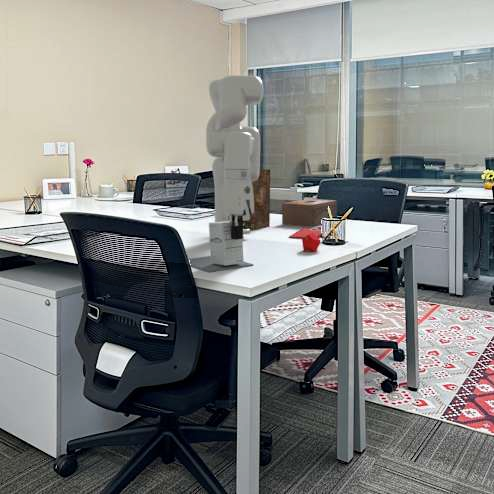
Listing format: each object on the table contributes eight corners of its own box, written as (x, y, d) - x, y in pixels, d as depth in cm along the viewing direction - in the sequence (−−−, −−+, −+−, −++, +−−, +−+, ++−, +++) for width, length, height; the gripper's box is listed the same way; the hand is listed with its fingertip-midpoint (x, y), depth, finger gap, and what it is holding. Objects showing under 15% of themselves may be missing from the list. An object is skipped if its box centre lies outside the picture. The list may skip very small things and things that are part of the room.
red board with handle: (341, 229, 248) (307, 228, 253) (341, 223, 247) (307, 222, 252) (326, 242, 220) (288, 240, 225) (326, 234, 220) (288, 233, 225)
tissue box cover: (310, 227, 254) (310, 205, 252) (282, 224, 262) (282, 203, 261) (336, 221, 275) (336, 200, 273) (309, 218, 283) (310, 198, 281)
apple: (309, 232, 204) (300, 227, 197) (326, 238, 201) (317, 233, 194) (302, 251, 204) (293, 246, 197) (319, 256, 200) (310, 252, 194)
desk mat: (220, 255, 189) (220, 254, 189) (253, 265, 175) (253, 264, 175) (177, 261, 180) (177, 260, 180) (209, 272, 165) (209, 270, 165)
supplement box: (210, 264, 174) (207, 222, 173) (230, 261, 179) (227, 220, 178) (224, 265, 168) (221, 222, 167) (244, 262, 173) (242, 220, 172)
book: (260, 225, 259) (261, 169, 255) (271, 226, 256) (271, 169, 252) (240, 229, 246) (240, 170, 241) (250, 230, 243) (251, 170, 238)
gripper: (263, 176, 161) (263, 241, 164) (232, 174, 173) (232, 234, 176) (242, 176, 157) (242, 243, 160) (211, 174, 169) (212, 236, 172)
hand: (237, 238), depth 168 cm, fingers closed
